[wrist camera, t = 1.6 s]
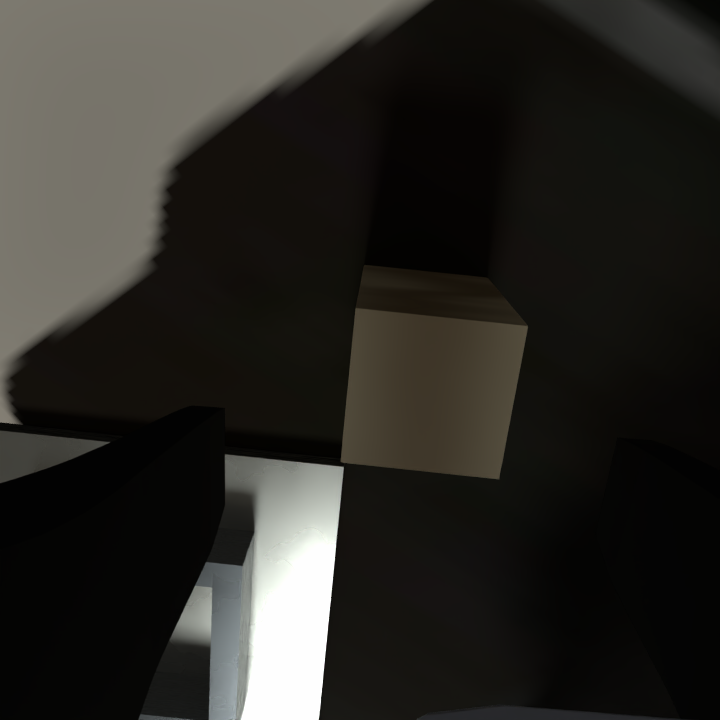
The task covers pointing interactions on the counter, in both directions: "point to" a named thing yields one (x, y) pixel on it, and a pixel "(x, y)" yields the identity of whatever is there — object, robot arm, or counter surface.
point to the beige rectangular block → (431, 373)
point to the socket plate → (237, 583)
